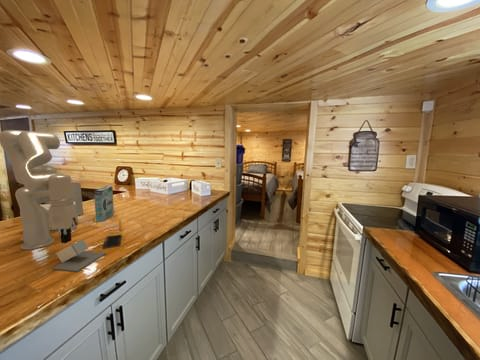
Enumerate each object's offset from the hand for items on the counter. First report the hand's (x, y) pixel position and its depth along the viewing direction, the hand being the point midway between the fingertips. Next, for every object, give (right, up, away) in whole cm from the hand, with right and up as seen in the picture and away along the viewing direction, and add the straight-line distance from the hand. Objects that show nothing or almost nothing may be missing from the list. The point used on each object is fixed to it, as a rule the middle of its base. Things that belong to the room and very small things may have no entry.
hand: (66, 241), depth 88 cm
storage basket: (-44, -3, +39) cm, 59 cm away
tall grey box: (-52, 0, +64) cm, 83 cm away
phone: (+8, -7, +20) cm, 23 cm away
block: (-2, -7, +1) cm, 7 cm away
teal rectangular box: (-24, -1, +60) cm, 64 cm away
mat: (+6, -9, +1) cm, 11 cm away
